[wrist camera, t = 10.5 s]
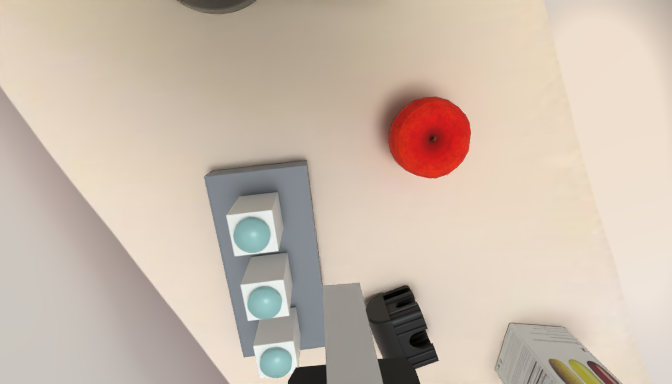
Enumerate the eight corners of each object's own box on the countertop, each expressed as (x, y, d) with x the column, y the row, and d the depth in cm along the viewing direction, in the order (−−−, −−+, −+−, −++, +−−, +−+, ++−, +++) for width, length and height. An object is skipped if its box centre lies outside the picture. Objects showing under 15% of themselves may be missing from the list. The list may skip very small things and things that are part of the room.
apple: (461, 141, 44) (492, 151, 37) (403, 180, 45) (422, 198, 38) (427, 81, 42) (452, 79, 34) (366, 123, 43) (378, 130, 35)
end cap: (361, 298, 50) (368, 329, 44) (407, 281, 50) (421, 310, 43) (382, 350, 53) (392, 386, 46) (426, 334, 53) (442, 369, 46)
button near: (239, 196, 41) (224, 218, 34) (277, 191, 41) (270, 212, 34) (245, 232, 42) (232, 260, 35) (283, 227, 42) (277, 254, 35)
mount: (211, 171, 43) (189, 188, 36) (306, 160, 44) (305, 175, 36) (247, 342, 51) (236, 387, 43) (328, 331, 51) (331, 374, 44)
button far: (261, 311, 45) (251, 351, 39) (296, 307, 46) (293, 345, 39) (266, 340, 47) (258, 383, 40) (300, 336, 47) (298, 378, 40)
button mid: (250, 257, 43) (238, 288, 36) (287, 252, 43) (282, 283, 36) (256, 289, 44) (246, 325, 38) (292, 284, 45) (288, 320, 38)
